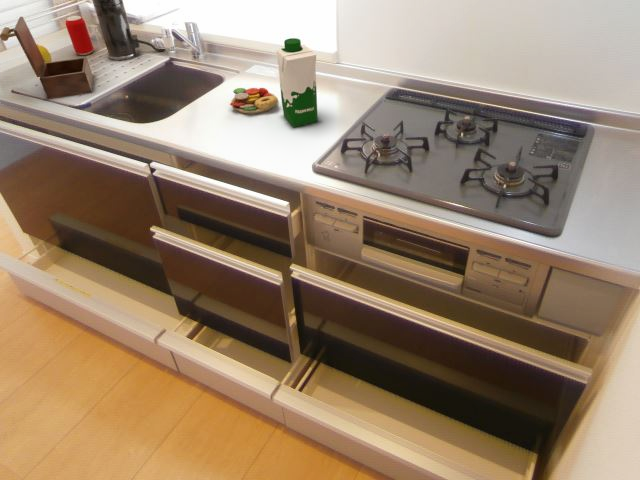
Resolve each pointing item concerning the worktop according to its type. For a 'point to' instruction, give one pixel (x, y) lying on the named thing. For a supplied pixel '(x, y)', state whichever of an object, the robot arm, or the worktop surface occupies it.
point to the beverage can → (79, 35)
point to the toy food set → (253, 100)
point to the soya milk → (298, 82)
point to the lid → (25, 44)
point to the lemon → (44, 53)
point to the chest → (66, 77)
